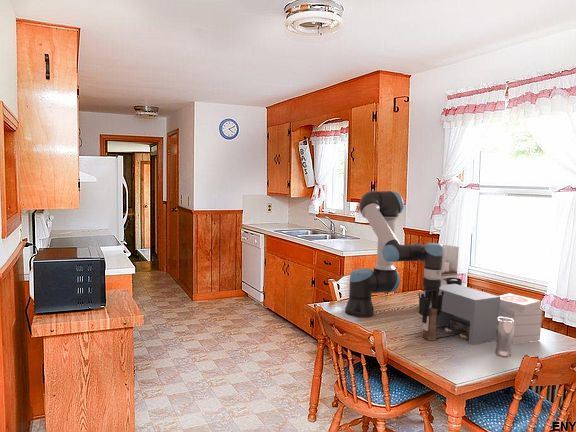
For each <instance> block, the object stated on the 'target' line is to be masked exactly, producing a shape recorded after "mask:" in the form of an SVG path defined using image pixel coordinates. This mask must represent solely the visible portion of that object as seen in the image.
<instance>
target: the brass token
mask: <svg viewBox="0 0 576 432" xmlns="http://www.w3.org/2000/svg"><path fill="white" fill-rule="evenodd" d="M458 337H459V339H460V338H461V339H463V340H469V333H466V332H460V333H459V334H458Z"/></svg>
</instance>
